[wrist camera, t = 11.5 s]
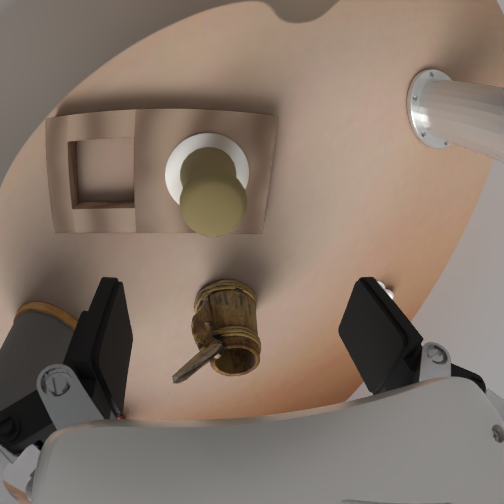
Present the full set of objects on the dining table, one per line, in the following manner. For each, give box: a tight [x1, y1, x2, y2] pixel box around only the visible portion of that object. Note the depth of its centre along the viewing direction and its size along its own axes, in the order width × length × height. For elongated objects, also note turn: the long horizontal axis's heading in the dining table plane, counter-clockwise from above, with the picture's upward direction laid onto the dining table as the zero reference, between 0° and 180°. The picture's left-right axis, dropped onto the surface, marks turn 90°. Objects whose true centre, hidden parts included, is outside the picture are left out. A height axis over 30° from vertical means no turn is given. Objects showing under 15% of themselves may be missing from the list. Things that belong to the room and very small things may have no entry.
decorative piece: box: [0, 302, 78, 499], centre depth 27 cm, size 16×16×30 cm
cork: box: [180, 147, 248, 236], centre depth 25 cm, size 6×6×11 cm
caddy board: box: [46, 109, 278, 234], centre depth 30 cm, size 26×14×3 cm, turn 84°
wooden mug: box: [172, 280, 261, 383], centre depth 33 cm, size 9×14×18 cm, turn 39°
